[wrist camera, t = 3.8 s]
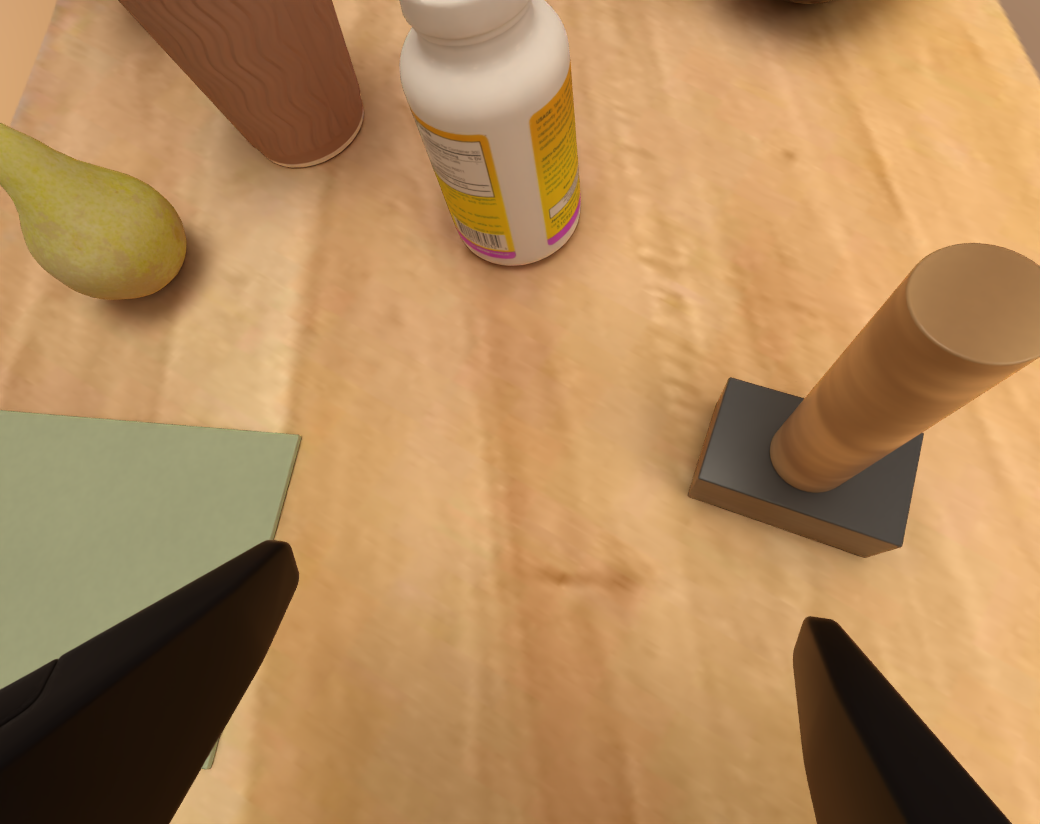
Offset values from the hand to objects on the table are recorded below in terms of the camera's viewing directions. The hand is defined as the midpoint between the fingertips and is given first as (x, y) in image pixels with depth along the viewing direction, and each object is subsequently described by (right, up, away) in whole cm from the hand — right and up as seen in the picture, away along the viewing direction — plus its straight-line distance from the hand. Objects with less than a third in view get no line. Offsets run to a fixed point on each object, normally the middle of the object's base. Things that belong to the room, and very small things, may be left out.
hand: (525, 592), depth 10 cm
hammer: (+11, 0, +14) cm, 18 cm away
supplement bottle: (0, +13, +21) cm, 25 cm away
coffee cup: (-13, +21, +26) cm, 35 cm away
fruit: (-21, +11, +23) cm, 33 cm away
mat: (-21, -4, +17) cm, 28 cm away
